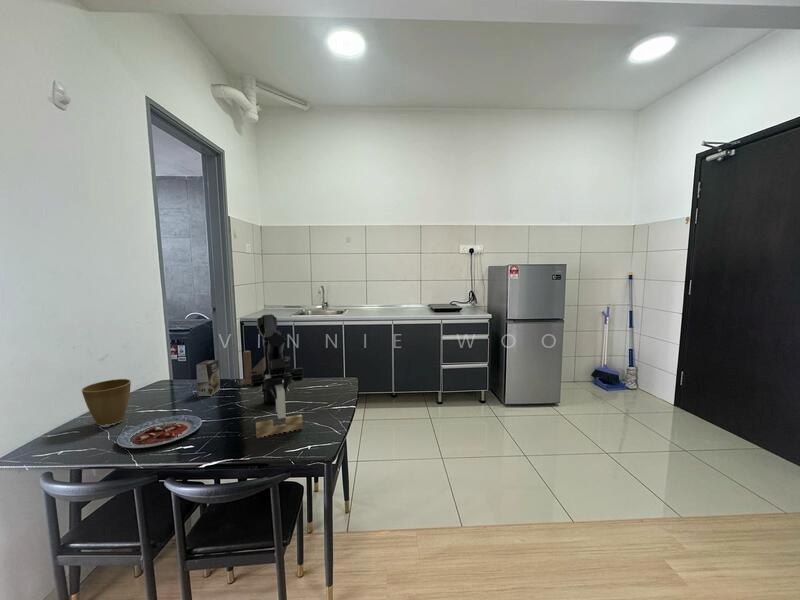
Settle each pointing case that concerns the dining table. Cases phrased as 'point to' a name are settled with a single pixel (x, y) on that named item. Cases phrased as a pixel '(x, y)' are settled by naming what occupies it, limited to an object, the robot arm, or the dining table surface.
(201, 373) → the coffee box
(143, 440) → the ceramic plate
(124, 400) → the plant pot
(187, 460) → the dining table surface
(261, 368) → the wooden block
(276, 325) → the robot arm
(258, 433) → the notched base plate
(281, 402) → the grey tapered block
